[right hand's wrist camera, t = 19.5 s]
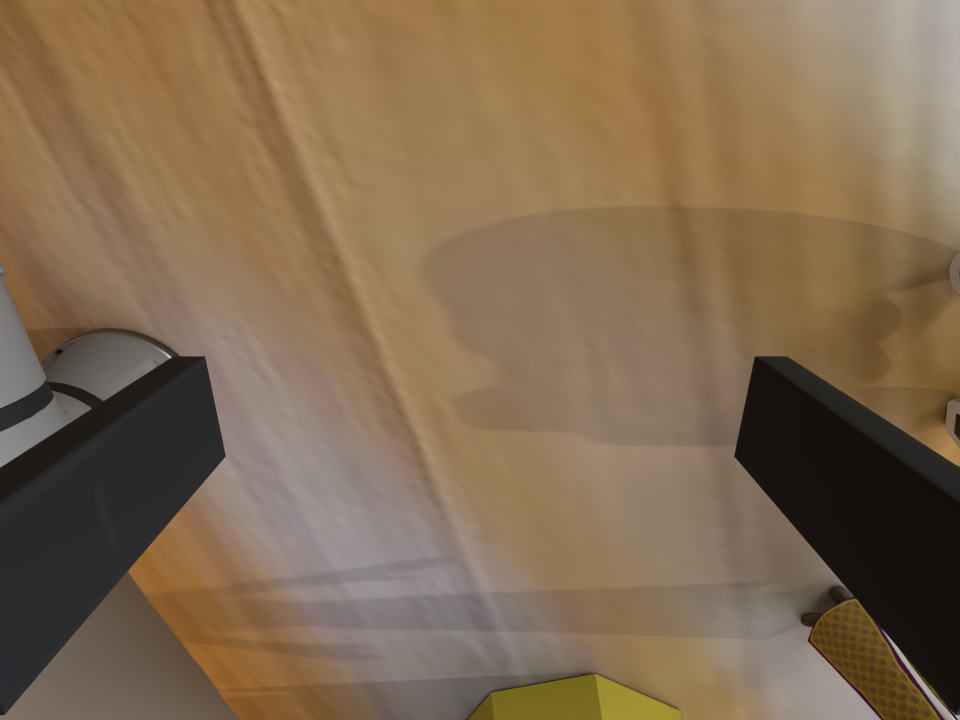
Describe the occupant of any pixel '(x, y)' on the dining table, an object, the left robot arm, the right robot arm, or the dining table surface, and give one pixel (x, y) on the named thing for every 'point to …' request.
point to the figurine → (872, 662)
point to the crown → (573, 702)
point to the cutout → (956, 418)
